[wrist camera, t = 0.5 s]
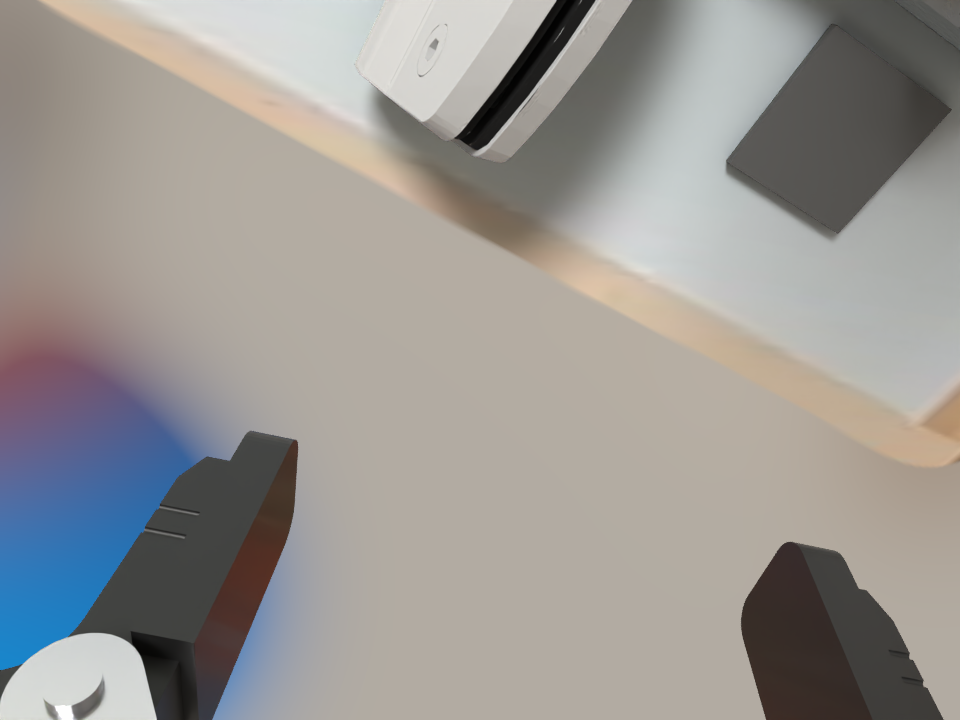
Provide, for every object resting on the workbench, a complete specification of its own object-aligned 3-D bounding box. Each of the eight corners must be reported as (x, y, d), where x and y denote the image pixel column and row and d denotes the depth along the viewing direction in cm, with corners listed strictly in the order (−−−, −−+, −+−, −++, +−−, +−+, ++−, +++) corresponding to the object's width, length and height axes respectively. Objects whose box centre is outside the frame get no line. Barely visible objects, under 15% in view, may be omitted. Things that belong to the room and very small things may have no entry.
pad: (831, 23, 30) (836, 25, 29) (945, 106, 31) (952, 109, 31) (726, 160, 33) (729, 163, 33) (833, 229, 35) (837, 233, 34)
